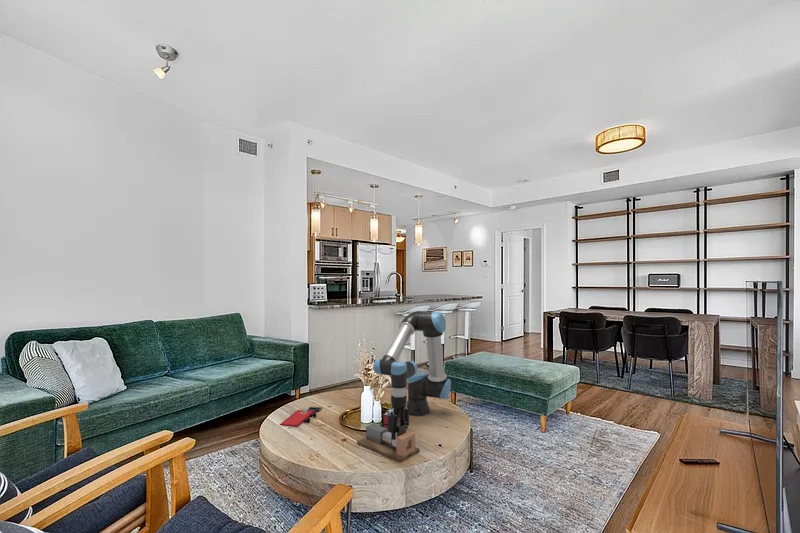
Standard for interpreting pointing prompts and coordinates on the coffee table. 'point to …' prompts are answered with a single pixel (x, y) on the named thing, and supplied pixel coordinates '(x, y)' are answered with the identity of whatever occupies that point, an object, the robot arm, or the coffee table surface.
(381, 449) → the walnut base board
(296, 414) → the red board with handle
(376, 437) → the grey stepped block
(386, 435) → the slip bar
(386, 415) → the puzzle cube
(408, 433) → the terracotta socket
